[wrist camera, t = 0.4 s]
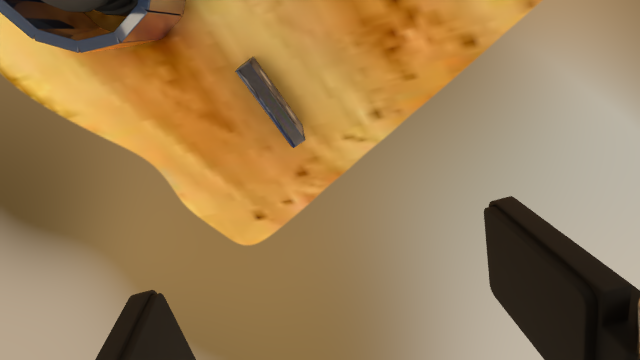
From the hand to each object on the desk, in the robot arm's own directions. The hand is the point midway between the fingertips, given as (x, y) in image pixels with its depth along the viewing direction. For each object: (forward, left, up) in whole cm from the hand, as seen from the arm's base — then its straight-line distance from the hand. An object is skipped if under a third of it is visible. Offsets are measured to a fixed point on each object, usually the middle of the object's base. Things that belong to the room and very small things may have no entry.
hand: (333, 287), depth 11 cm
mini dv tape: (-1, -2, -31) cm, 31 cm away
